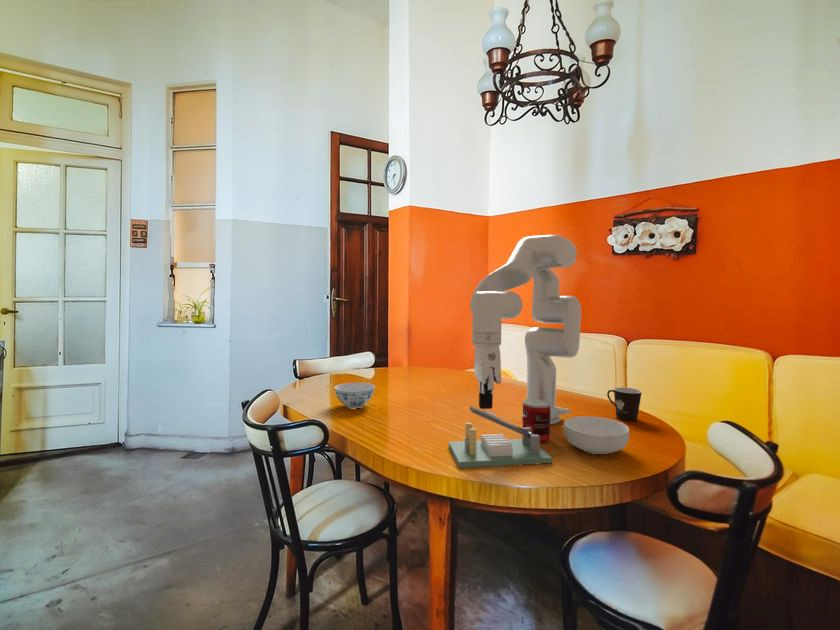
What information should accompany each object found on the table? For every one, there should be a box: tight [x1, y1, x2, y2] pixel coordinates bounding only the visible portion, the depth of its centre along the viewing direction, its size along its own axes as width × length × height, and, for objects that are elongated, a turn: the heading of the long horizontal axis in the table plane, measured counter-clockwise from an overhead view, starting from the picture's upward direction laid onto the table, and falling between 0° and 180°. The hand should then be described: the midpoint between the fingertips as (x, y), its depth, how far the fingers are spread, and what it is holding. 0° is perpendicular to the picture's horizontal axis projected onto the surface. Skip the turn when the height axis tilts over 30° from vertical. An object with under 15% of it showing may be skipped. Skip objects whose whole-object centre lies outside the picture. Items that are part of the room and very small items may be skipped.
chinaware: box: [334, 382, 376, 409], centre depth 156 cm, size 15×15×8 cm
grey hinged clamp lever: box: [469, 405, 534, 438], centre depth 110 cm, size 19×4×2 cm, turn 98°
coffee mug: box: [606, 387, 642, 423], centre depth 144 cm, size 12×9×10 cm
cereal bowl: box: [563, 415, 630, 455], centre depth 114 cm, size 17×17×7 cm
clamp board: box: [448, 422, 553, 469], centre depth 110 cm, size 24×14×8 cm, turn 96°
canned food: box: [522, 398, 551, 443], centre depth 123 cm, size 8×8×11 cm
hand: (485, 407), depth 109 cm, fingers closed
